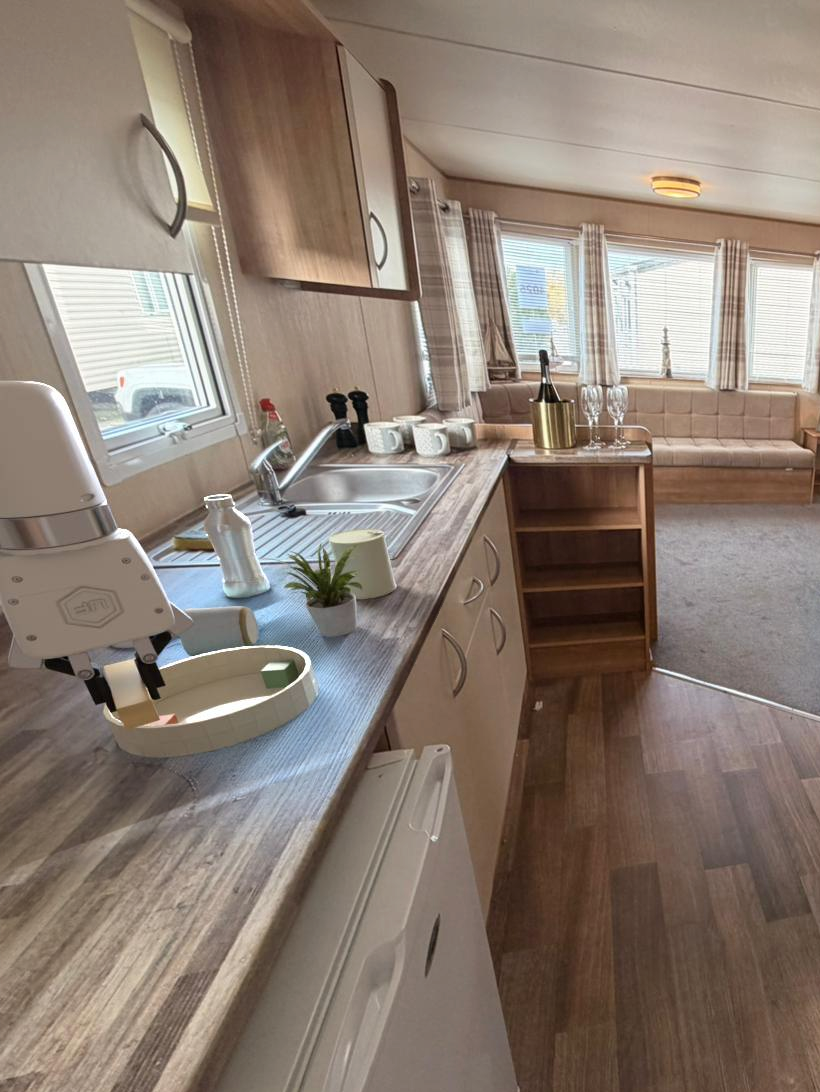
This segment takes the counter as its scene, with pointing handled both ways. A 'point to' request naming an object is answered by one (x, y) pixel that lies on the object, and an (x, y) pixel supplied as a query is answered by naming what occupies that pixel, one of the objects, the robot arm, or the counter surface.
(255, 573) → the plastic bottle
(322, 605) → the house plant
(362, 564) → the cream tapered cylinder
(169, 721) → the terracotta block
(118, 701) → the long ochre block
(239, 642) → the grey short cylinder
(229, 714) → the bowl
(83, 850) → the counter surface
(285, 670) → the sage block
